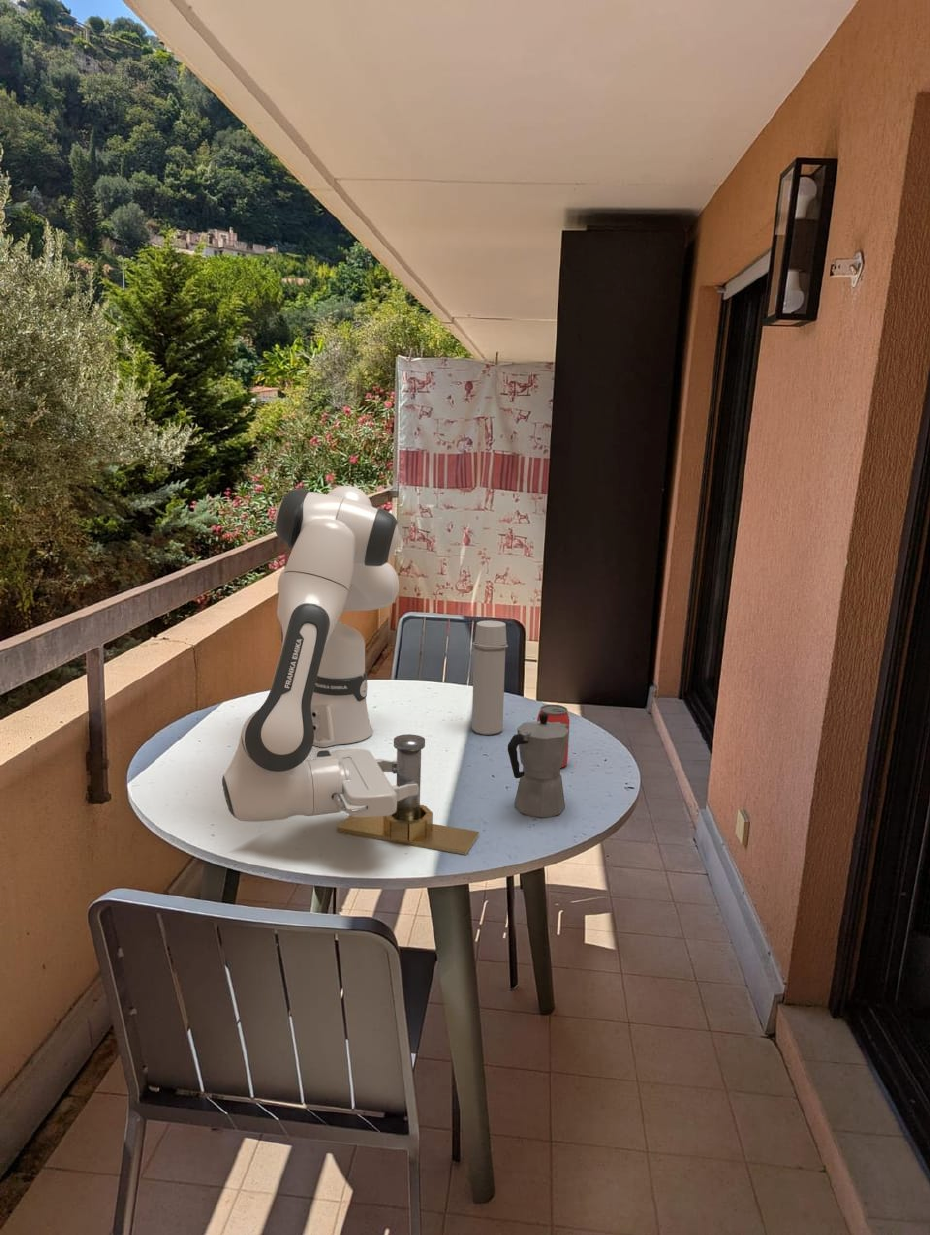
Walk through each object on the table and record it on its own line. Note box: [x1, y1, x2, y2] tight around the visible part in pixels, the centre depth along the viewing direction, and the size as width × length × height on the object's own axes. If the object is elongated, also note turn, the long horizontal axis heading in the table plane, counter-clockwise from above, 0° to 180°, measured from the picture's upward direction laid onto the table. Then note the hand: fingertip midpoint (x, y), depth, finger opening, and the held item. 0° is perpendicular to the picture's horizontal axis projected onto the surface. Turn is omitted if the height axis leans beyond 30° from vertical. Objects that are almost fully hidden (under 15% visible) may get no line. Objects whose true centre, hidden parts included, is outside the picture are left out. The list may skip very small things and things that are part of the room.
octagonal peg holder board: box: [336, 804, 480, 856], centre depth 147 cm, size 23×8×4 cm, turn 72°
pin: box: [393, 733, 426, 822], centre depth 145 cm, size 5×5×16 cm
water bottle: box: [471, 620, 509, 736], centre depth 196 cm, size 9×8×25 cm
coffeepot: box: [507, 713, 570, 819], centre depth 156 cm, size 15×9×18 cm, turn 133°
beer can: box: [536, 704, 571, 769], centre depth 178 cm, size 7×7×12 cm
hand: (409, 776), depth 145 cm, fingers open, 8 cm apart
